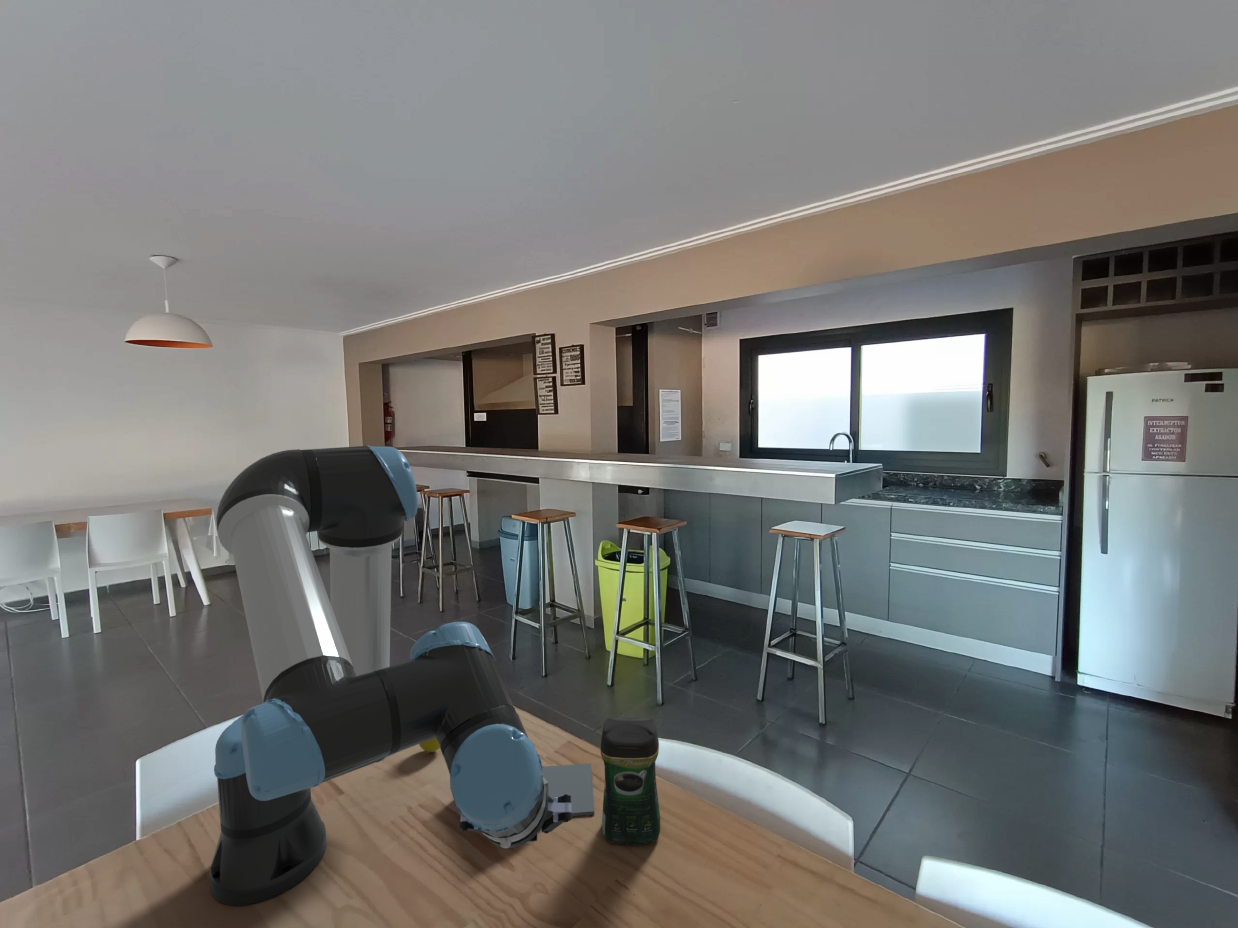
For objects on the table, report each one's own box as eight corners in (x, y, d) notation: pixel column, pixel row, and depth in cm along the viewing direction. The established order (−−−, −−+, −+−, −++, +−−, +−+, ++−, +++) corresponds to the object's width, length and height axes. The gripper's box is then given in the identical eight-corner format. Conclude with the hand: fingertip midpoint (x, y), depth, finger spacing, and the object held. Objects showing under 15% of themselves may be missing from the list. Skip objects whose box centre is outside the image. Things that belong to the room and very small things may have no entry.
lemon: (441, 760, 109) (439, 722, 108) (414, 760, 109) (412, 722, 109) (450, 743, 115) (449, 707, 114) (424, 743, 115) (422, 707, 114)
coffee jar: (660, 812, 94) (659, 709, 92) (660, 849, 86) (660, 737, 85) (603, 810, 95) (602, 708, 93) (599, 847, 87) (597, 735, 85)
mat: (475, 823, 92) (475, 820, 92) (486, 773, 105) (486, 770, 105) (594, 814, 94) (594, 811, 94) (591, 766, 107) (591, 763, 107)
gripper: (442, 849, 55) (475, 868, 73) (573, 838, 56) (574, 859, 74) (451, 765, 59) (480, 802, 78) (571, 756, 61) (573, 795, 79)
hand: (526, 830), depth 76 cm, fingers closed
